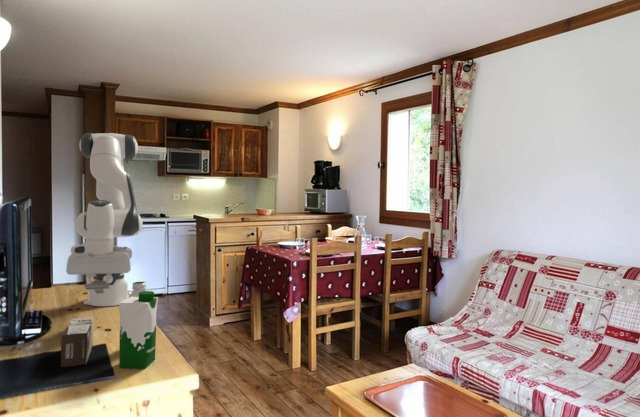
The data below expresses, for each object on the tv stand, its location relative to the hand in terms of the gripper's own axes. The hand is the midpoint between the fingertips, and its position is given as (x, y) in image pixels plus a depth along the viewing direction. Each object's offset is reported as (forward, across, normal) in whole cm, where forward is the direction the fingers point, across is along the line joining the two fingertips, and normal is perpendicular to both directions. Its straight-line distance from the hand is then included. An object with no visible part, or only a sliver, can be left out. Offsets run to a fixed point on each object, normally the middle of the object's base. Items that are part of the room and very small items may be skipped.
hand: (99, 286), depth 158 cm
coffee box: (+9, +3, +22) cm, 24 cm away
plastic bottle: (+14, -13, +27) cm, 33 cm away
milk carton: (+14, -13, +41) cm, 45 cm away
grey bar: (0, 0, +4) cm, 4 cm away
